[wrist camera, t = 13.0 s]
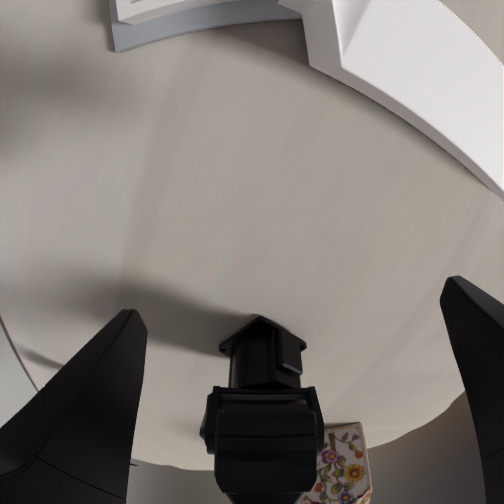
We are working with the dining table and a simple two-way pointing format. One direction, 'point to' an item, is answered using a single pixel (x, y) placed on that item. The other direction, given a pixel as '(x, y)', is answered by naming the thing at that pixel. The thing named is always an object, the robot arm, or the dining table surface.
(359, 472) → the decorative jar
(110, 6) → the socket plate
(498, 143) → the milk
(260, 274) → the dining table surface
